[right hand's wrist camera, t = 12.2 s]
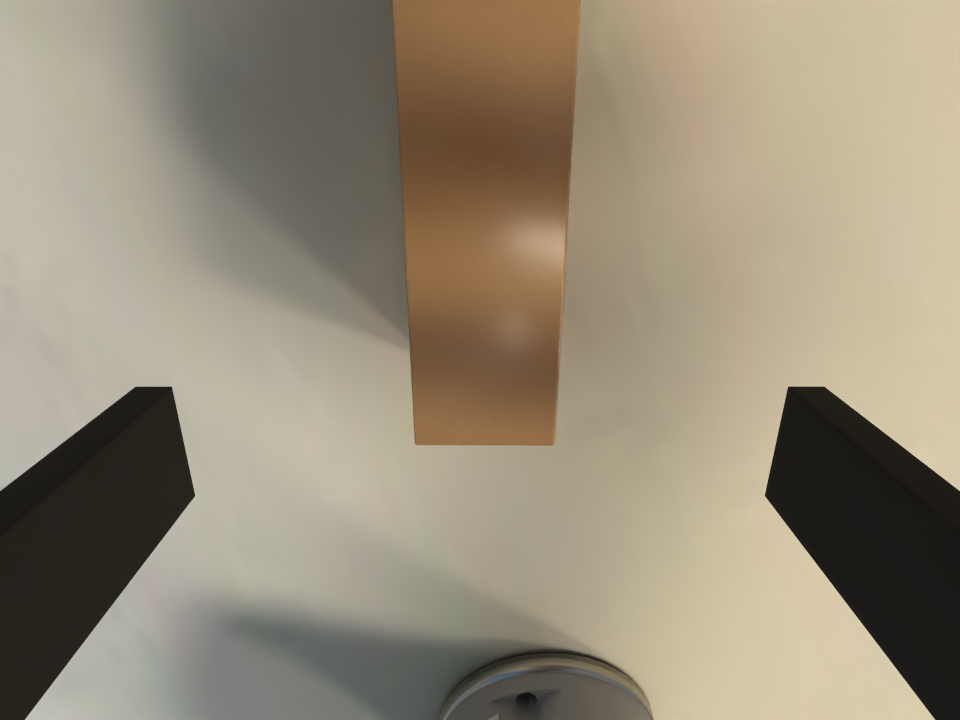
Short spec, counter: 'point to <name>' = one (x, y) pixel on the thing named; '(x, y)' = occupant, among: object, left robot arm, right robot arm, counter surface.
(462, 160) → the beam
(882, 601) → the right robot arm
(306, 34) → the counter surface
